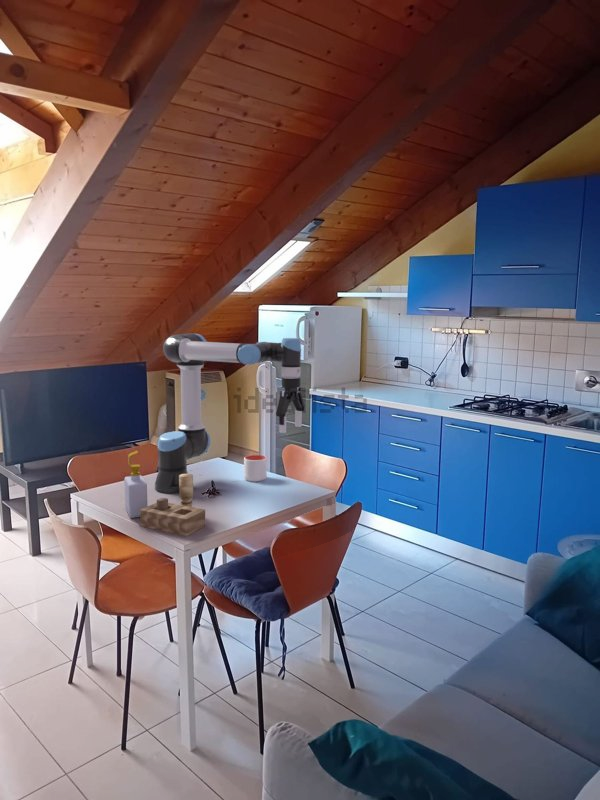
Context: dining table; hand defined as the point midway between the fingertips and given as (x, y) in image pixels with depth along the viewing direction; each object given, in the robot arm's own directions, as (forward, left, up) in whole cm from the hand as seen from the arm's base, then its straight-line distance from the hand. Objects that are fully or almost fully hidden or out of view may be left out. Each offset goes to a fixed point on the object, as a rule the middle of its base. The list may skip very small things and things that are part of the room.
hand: (290, 429), depth 249 cm
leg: (-24, -37, -28) cm, 52 cm away
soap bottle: (-42, -44, -28) cm, 67 cm away
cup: (-25, +15, -28) cm, 41 cm away
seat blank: (-21, -49, -28) cm, 60 cm away
